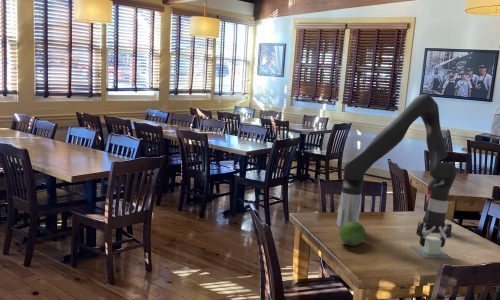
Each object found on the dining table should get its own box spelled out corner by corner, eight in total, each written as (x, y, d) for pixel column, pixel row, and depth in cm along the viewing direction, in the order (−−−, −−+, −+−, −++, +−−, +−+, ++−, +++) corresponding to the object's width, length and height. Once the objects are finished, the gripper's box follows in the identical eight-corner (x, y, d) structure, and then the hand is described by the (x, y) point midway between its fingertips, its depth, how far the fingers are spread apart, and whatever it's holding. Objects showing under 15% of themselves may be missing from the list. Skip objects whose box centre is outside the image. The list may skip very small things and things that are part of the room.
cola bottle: (419, 224, 244) (427, 166, 239) (435, 225, 245) (443, 167, 240) (426, 229, 236) (435, 170, 231) (443, 230, 236) (452, 171, 232)
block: (428, 254, 201) (430, 240, 200) (422, 249, 206) (424, 236, 205) (439, 254, 202) (441, 240, 201) (433, 250, 206) (435, 236, 205)
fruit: (350, 236, 216) (352, 215, 215) (370, 243, 210) (373, 221, 209) (333, 244, 205) (335, 221, 203) (354, 251, 199) (357, 228, 197)
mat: (424, 258, 197) (424, 257, 197) (411, 247, 209) (411, 246, 209) (451, 258, 199) (451, 257, 199) (437, 248, 210) (437, 247, 210)
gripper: (425, 211, 196) (420, 249, 199) (458, 212, 198) (452, 250, 200) (417, 206, 203) (411, 242, 206) (448, 207, 205) (443, 243, 208)
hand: (431, 246), depth 203 cm, fingers open, 8 cm apart
